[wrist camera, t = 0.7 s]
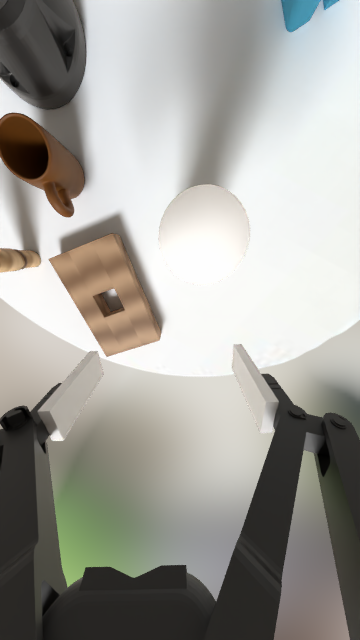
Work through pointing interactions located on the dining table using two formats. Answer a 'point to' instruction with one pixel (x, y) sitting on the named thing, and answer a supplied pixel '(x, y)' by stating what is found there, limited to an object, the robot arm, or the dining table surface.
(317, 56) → the dining table surface
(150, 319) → the seat board
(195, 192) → the cylindrical container
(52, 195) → the mug
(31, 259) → the oak peg
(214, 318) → the dining table surface
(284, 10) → the block
